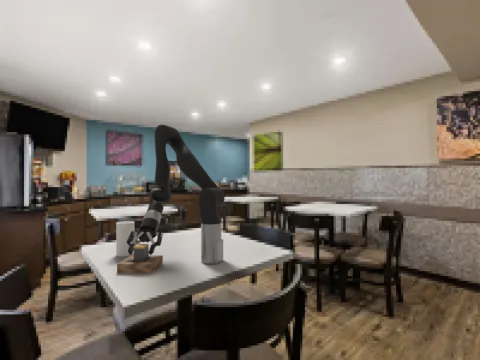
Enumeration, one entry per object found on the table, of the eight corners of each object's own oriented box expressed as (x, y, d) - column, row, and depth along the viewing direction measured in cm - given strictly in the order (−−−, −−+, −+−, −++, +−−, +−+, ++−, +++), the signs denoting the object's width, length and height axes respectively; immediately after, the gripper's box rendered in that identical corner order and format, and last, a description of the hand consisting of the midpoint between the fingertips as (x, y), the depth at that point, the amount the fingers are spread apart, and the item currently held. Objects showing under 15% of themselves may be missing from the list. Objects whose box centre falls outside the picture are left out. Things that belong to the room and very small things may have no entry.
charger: (148, 266, 106) (148, 243, 106) (144, 269, 101) (144, 246, 102) (138, 266, 106) (138, 243, 106) (133, 269, 102) (133, 246, 102)
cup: (129, 251, 130) (129, 220, 130) (137, 253, 125) (137, 222, 125) (113, 254, 124) (113, 222, 124) (121, 257, 119) (121, 224, 119)
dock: (162, 263, 109) (162, 255, 109) (151, 273, 97) (151, 264, 97) (131, 263, 110) (131, 255, 110) (117, 272, 98) (117, 263, 98)
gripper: (133, 217, 112) (119, 249, 100) (164, 217, 111) (154, 249, 100) (138, 226, 117) (126, 258, 106) (168, 226, 117) (159, 258, 105)
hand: (139, 253), depth 103 cm, fingers open, 8 cm apart
